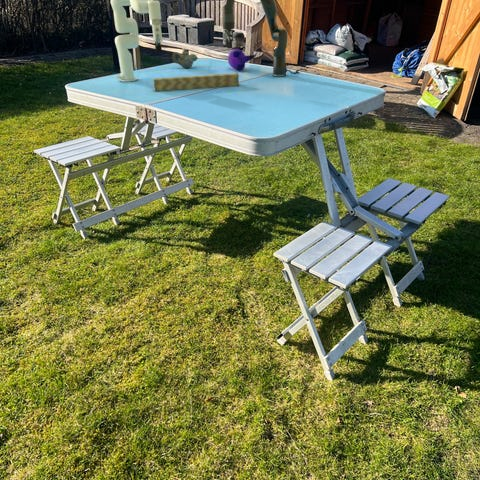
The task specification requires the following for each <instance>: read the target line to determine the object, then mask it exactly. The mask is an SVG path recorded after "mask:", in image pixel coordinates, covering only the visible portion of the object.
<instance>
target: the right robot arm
mask: <svg viewBox="0 0 480 480" xmlns="http://www.w3.org/2000/svg"><path fill="white" fill-rule="evenodd" d="M259 1H260V3H261V6H262V10H263V12H264V15H265V17H266V18H265V19H266V21H267V25H268V28H269V32H270V37H271V39H272V41H273V42H276V43H277V45H276V46H275V47H273V51H272V53H273V55H272V56H273V57H272V58H273V59H272V60H273V61H272V76H273V77H276V78H277V77H279V78H280V77H286V76H287V73H288V72H290V74H299V71H306V72H309V70H307V68H300V69H296V70H295V71H293V72H292V71H291V70H290V69H288V68H287V62H286V55H287V54H286V53H287V52H286V51H287V48H288V38H289V36H288V35H289V34H288V31H287V29H286V28H280V27H279V25H278V22H277V16H278V7H277V4H276V1H275V0H259ZM234 6H235V0H226V1H225V3H223V4H222V29H223V30H224V40H225V47H227V48H228V49H233V42H234V31H232V30H234V29H235V16H234V15H235V14H234Z"/></svg>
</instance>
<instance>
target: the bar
mask: <svg viewBox="0 0 480 480" xmlns="http://www.w3.org/2000/svg"><path fill="white" fill-rule="evenodd" d="M239 79H240V74H238V72H234V73H219V74H205V75H191V76H190V75H189V76H176V77H175V76H173V77H159V78H152V80H153V89H154V90H153V91H154V92H165V91H180V90H193V89H208V88H209V89H210V88H222V87H223V88H224V87H236V86H240V80H239Z"/></svg>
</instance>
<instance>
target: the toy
mask: <svg viewBox="0 0 480 480" xmlns="http://www.w3.org/2000/svg"><path fill="white" fill-rule="evenodd" d="M257 55H258V54H250V55H245V53H244V52H243V50H241V49H239V48H235V49H233V50H231V51H230V52H229V53H228V56H227V63H228V64H229V66H230V67H231V68H232V69H235V70H236V71H237V72H241V71H243V70H244V69H245V68H246V63H247V62H249V61H251V60H252V59H254V58H256V57H257Z"/></svg>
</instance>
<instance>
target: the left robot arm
mask: <svg viewBox="0 0 480 480" xmlns="http://www.w3.org/2000/svg"><path fill="white" fill-rule="evenodd" d="M109 2H110V5H111V8H112V11H113V20H114V26H115V31H116V32H117V33H119V34H120V35H117V36H115V38H114V43H115V48H116V50H117V51H116V52H117V56H118V62H119V67H120V68H119V69H120V74H119V75H115V76H114V78H115V79H117V80H119V81H120V82H123V83H126V82H128V83H130V82H135V81H137V79H138V78H137V77H135V71H134V63H133V55H132V53H131V52H130V49H136V48H138V47H139V46H140V37H139V28H138V23H137V21H136V19H135V18H132V17H127V11H126V9H125V8H124V7H126V6H127V7H129V6H130V7H131V9H132V10H133V11H135V12H136V13H137V14H142V15H143V14H148V17H149V18H148V19H149V25H150V26H151V29H152V37H153V41H154V48H155V49H154V50H155V51H156V52H157V53H162V52H163V49H162V48H163V47H162V42H163V36H162V33H163V32H162V26H163V22H162V11H161V3H160V1H159V0H110V1H109Z"/></svg>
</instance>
